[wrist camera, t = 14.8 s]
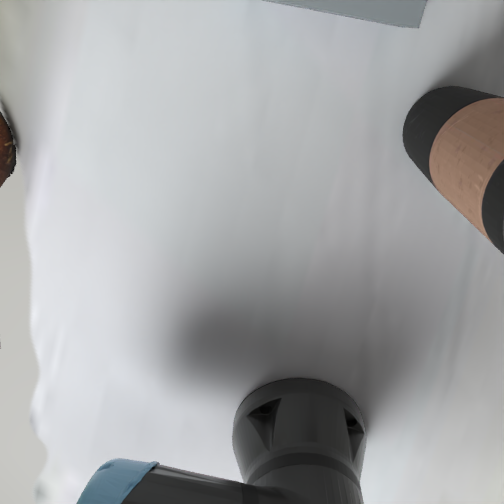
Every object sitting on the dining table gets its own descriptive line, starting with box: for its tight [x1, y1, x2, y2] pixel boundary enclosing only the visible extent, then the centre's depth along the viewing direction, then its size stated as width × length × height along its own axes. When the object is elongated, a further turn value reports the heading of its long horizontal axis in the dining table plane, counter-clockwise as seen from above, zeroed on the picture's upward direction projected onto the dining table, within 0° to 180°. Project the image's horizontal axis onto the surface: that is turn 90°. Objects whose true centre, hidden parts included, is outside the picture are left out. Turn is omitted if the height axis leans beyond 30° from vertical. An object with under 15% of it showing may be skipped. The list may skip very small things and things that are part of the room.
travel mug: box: [403, 86, 504, 254], centre depth 32 cm, size 8×8×20 cm
